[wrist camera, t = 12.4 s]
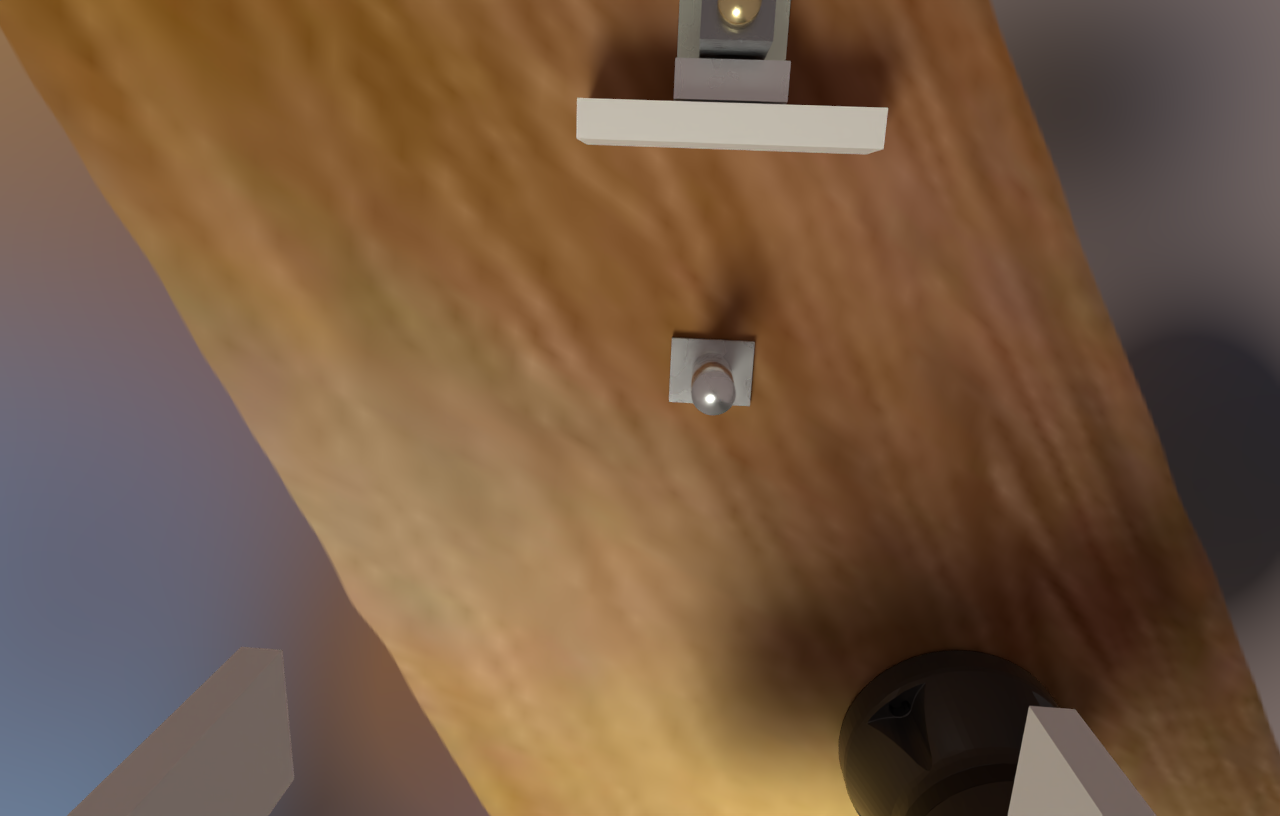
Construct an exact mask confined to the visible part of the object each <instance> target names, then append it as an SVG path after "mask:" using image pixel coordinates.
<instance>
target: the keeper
mask: <svg viewBox="0 0 1280 816" xmlns="http://www.w3.org/2000/svg"><path fill="white" fill-rule="evenodd" d="M790 1H791V0H776V11H775V24H774V37H773V42H772V45H771V47H770V49H769V51H768V53H767V55H766V57H765V59H764V60H742V59H707V58H699V47H700V25H701V7H702V0H680V5H679V26H678V48H677V58H675V78H674V101H691V102H722V103H753V104H786V103H787V102H788V91H789V79H790V67H791V61H786V51H787V39H788V26H789V14H790Z"/></svg>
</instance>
